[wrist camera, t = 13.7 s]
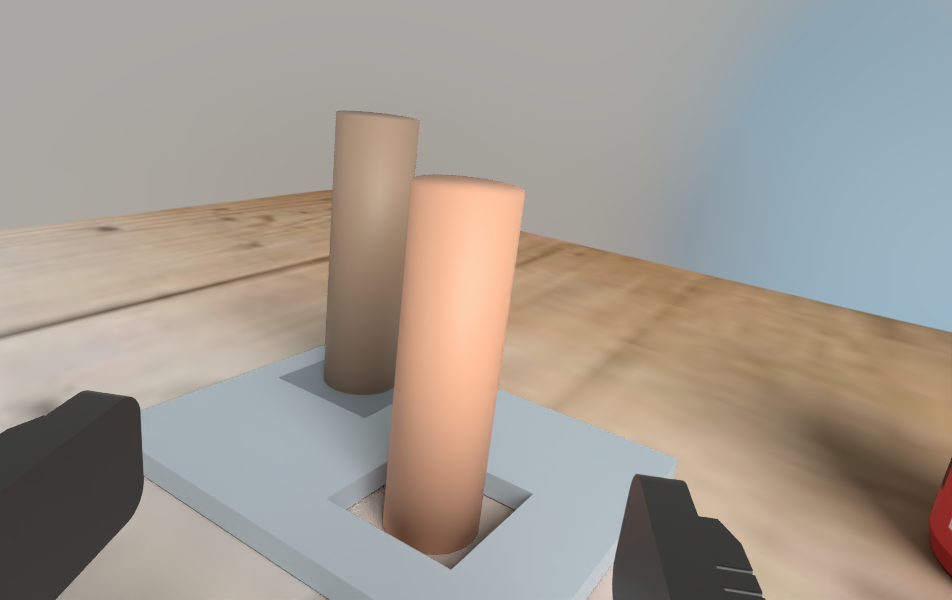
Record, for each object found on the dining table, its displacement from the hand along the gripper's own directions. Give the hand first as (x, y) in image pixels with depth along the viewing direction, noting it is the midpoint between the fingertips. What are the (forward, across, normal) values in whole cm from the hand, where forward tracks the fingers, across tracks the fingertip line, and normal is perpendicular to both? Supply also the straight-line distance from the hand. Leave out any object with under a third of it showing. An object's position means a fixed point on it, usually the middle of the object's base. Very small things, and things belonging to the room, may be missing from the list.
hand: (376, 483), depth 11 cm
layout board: (+14, +2, +9) cm, 17 cm away
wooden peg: (+11, 0, +9) cm, 14 cm away
